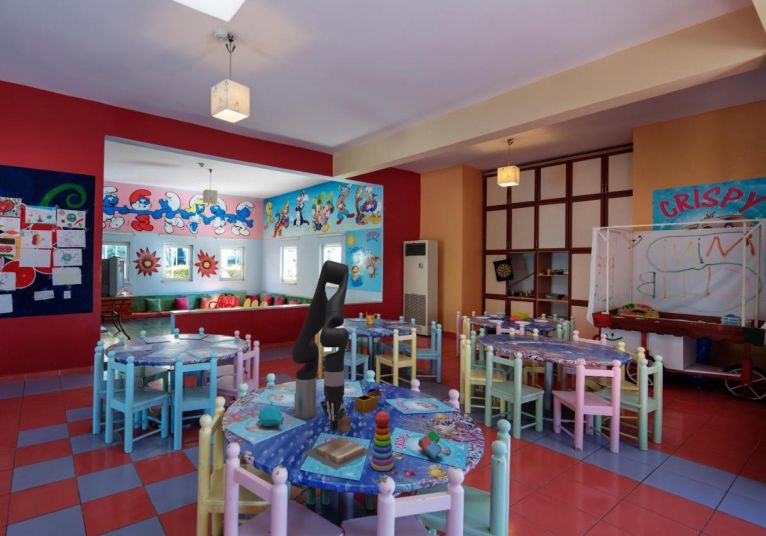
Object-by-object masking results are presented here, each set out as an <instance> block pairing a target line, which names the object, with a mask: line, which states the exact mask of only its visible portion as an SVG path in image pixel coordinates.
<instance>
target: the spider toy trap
mask: <svg viewBox="0 0 766 536" xmlns="http://www.w3.org/2000/svg"><path fill="white" fill-rule="evenodd" d="M383 396H385V393H384V392H381V390H379V389H377V388H375V387H373V388H369V390H368V391H367V393H366V394H363V395H360V396H359V395H358V396H357V397H354V412H358V413H360V414H363V415H365V414H368V413H370V412H373V411H375V410H377V409H378V398H379V397H383Z"/></svg>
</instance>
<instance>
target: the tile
mask: <svg viewBox="0 0 766 536" xmlns="http://www.w3.org/2000/svg"><path fill="white" fill-rule="evenodd" d="M338 438H339V437H338ZM336 439H337V438H336ZM333 440H334V441H332V440H331V441H332V442H330V441H329V442H330V443H327V442H326V443H327V444H325V443H324V444H325V445H323V444H322V445H323V446H320V445H319V446H320V447H318V446H317V447H318V448H317V454H319V455H321V456H323V457H325V458H327V459H329V460H331V461H333V462H335V463H337V464H341V463H343V462H346V461H348V460H350V459H352V458H354V457H356V456H358V455H360V454H362V453H364V448H365V447H364V446H362V445H360V444H357V443H355V442H352V441H350V440H348V439H346V438H344V437H340V438H339V439H337V440H335V439H333Z"/></svg>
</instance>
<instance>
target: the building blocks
mask: <svg viewBox="0 0 766 536" xmlns="http://www.w3.org/2000/svg"><path fill="white" fill-rule="evenodd" d="M440 440H441V438H440V436H439V435H438V434H437V433H436V432H435V431H434V430H433V429H432V430H431V431H430V432H429V433H428V434H424V436H423V437H422V438H419V439H418V442H417V445H418V447H420V449H421V450H422V451H423V452H424V453H426V454H428V455H429V456H430V457H431V458H432V460H434V459H436V457H438V455H439V454H440V453H441V452H442V448H441V446H440V445H439V444H438V443H439V442H440Z"/></svg>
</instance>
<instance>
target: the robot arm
mask: <svg viewBox="0 0 766 536" xmlns="http://www.w3.org/2000/svg"><path fill="white" fill-rule="evenodd" d="M349 269H350V268H349V265H347V264H345V263H343V262H339V261H334V260H330V259H327V260H325V261H324V263H323V264H322V266H321V270H320V273H319V275H318V276H319V277H318V281H317V284H316V288H315V290H314V291H315V292H314V293H313V297H312V299H311V302H310V304H309V306H308V310H307V312H306V316H305V319H304V321H303V324H302V327H301V330H300V332H299V334H298V336H297V339H296V341H295V343H294V345H293V347H292V352H291V357H292V360H293V362H294V363H295V364H298V365H301V364H304V365H303V366H302V367H301V368H299V369H298V370H296V372H295V393H294V403H293V404H294V406H293V407H294V411H293V412H294V415H295V414H296V415H295V417H296V418H297V419H311V418H314V417H315V416H316V415H317V375H318V374H317V373H318V370H319V359H320V358H319V357H320V351H319V346H318V344H317V342H316V341H313V340H312V339H314V338H315V336H316V335H318V333H319V332H320V331H321V332H320V335H319V343H320V344H321V346H322V347H323V348H330V349H331V348H338V350H337V351H335V352H331V353H326V354H325V357H324V373H323V396H324V400H323V401H320V405H321V408H322V411H323V413H324V414H325V417H326V418H328V420H329V428H330V430H331V431H334V432H335V431H337V429H338V420H339V419H342V418H343V416H344V415H346V413H347V412H348V411H349V407H348V406H345V405H344V400H343V399H344V398H343V397H344V395H345V381H346V380H345V355H346V350H347V347H348V344H349V339H350V333H349V331H348V329H347V328H345V327H342V326H343V324H344V322H345V300H346V294H347V289H348V283H349V275H350V274H349V273H350V271H349ZM327 284H332V285H337V286H338V289H337V290H336V292H335V293H334V294H333V295H332V296H331V297H330V298H329V299H328V296H327V292H326V285H327Z"/></svg>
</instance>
